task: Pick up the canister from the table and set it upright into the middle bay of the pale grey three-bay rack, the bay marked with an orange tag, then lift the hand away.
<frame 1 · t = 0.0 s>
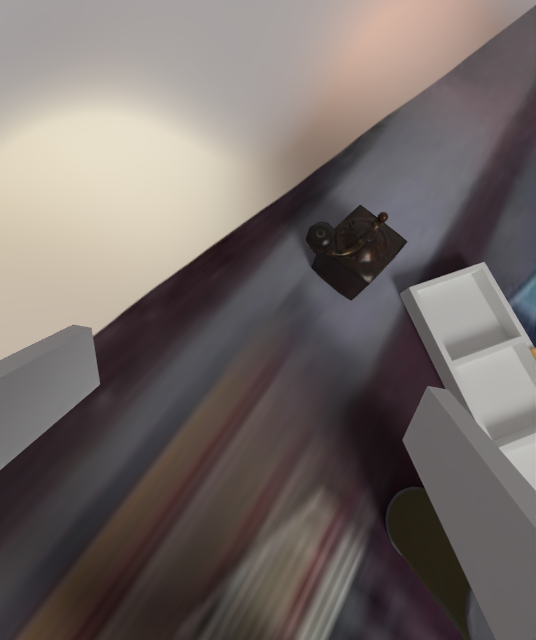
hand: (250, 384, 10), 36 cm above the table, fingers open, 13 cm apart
canister: (418, 523, 40), on the table
pepper mill: (337, 275, 50), on the table
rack: (492, 391, 44), on the table
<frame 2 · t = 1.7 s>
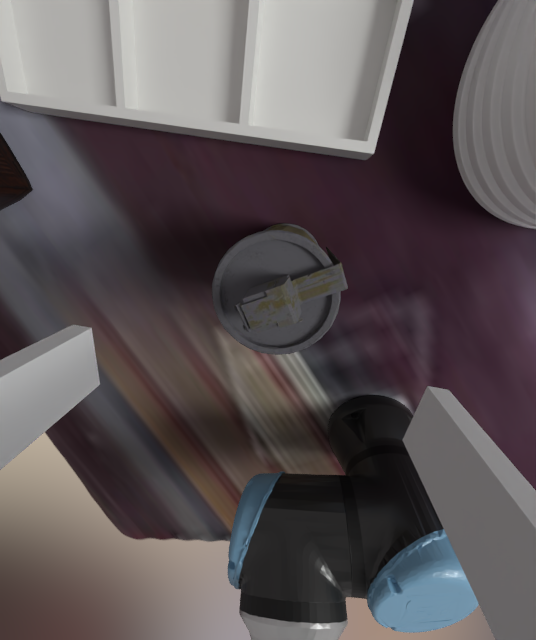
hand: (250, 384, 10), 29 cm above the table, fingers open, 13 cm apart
canister: (286, 261, 37), on the table
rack: (195, 56, 29), on the table
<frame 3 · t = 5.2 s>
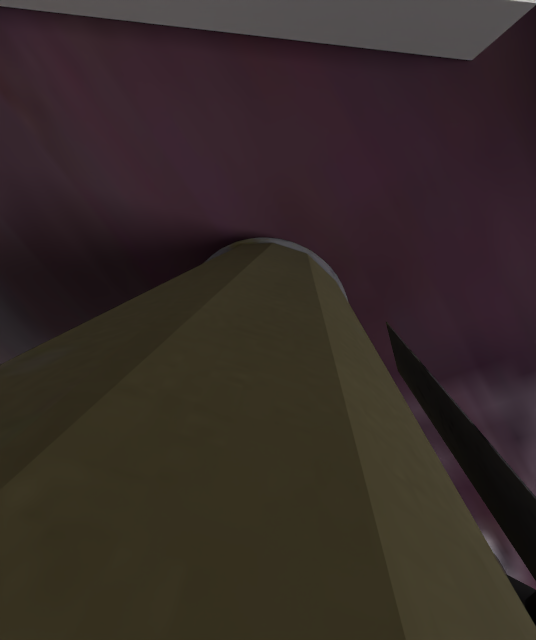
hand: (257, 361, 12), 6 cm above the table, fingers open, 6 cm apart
canister: (268, 319, 17), point 1 cm above the table, touching hand
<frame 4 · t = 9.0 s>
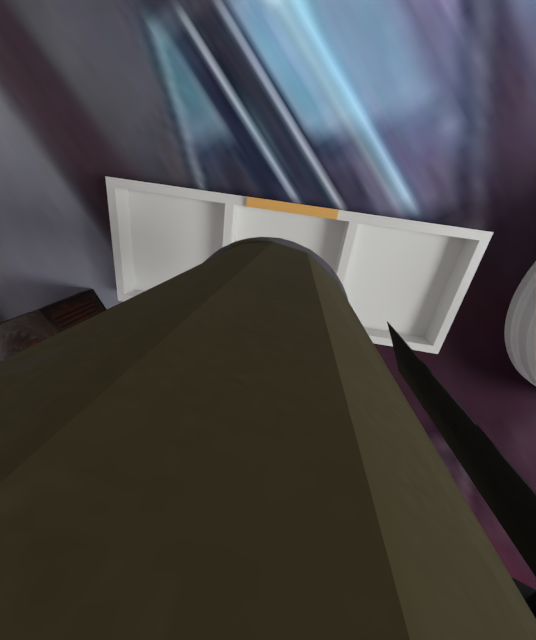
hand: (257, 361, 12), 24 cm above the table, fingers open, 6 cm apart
canister: (268, 319, 17), point 19 cm above the table, touching hand
pepper mill: (94, 340, 42), on the table
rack: (283, 265, 34), on the table
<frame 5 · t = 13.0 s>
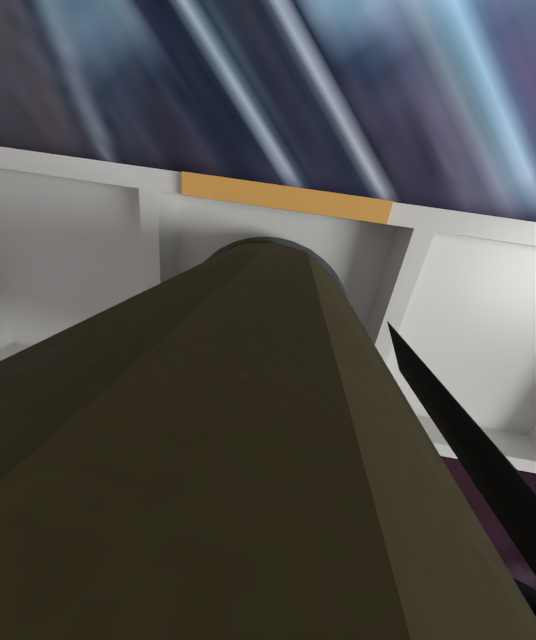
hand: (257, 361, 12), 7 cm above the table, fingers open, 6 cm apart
canister: (268, 319, 17), point 2 cm above the table, touching hand
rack: (271, 306, 19), on the table
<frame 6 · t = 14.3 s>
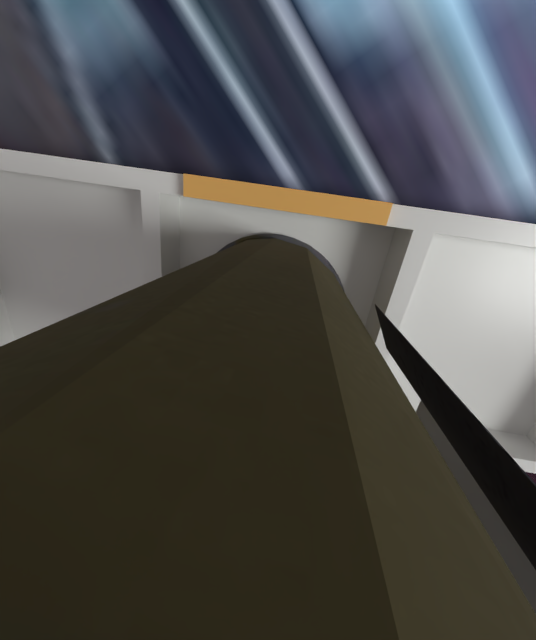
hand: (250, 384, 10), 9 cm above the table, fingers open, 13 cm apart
canister: (271, 310, 18), point 1 cm above the table, touching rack
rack: (271, 307, 19), on the table
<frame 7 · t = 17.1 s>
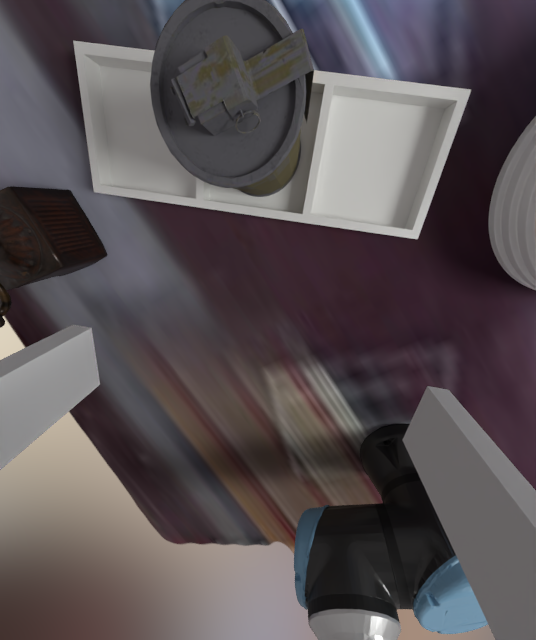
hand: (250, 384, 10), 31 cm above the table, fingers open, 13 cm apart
canister: (261, 151, 33), point 1 cm above the table, touching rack
pepper mill: (75, 251, 42), on the table
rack: (262, 153, 34), on the table
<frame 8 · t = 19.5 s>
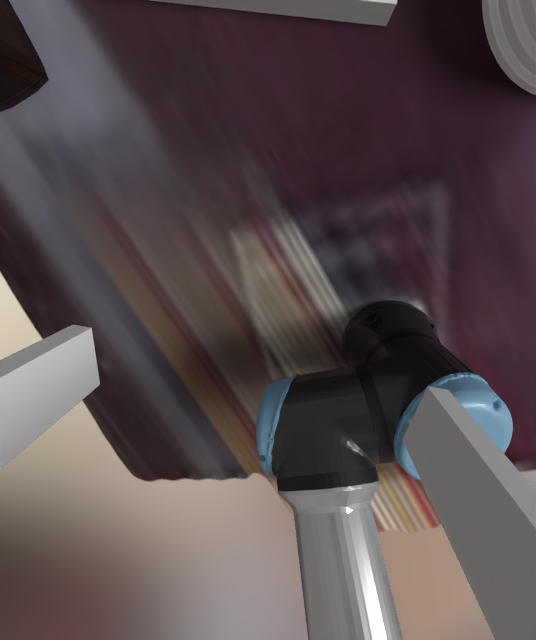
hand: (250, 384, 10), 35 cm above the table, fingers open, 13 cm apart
pepper mill: (13, 78, 37), on the table
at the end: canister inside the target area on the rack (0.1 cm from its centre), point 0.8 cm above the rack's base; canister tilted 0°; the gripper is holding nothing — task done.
